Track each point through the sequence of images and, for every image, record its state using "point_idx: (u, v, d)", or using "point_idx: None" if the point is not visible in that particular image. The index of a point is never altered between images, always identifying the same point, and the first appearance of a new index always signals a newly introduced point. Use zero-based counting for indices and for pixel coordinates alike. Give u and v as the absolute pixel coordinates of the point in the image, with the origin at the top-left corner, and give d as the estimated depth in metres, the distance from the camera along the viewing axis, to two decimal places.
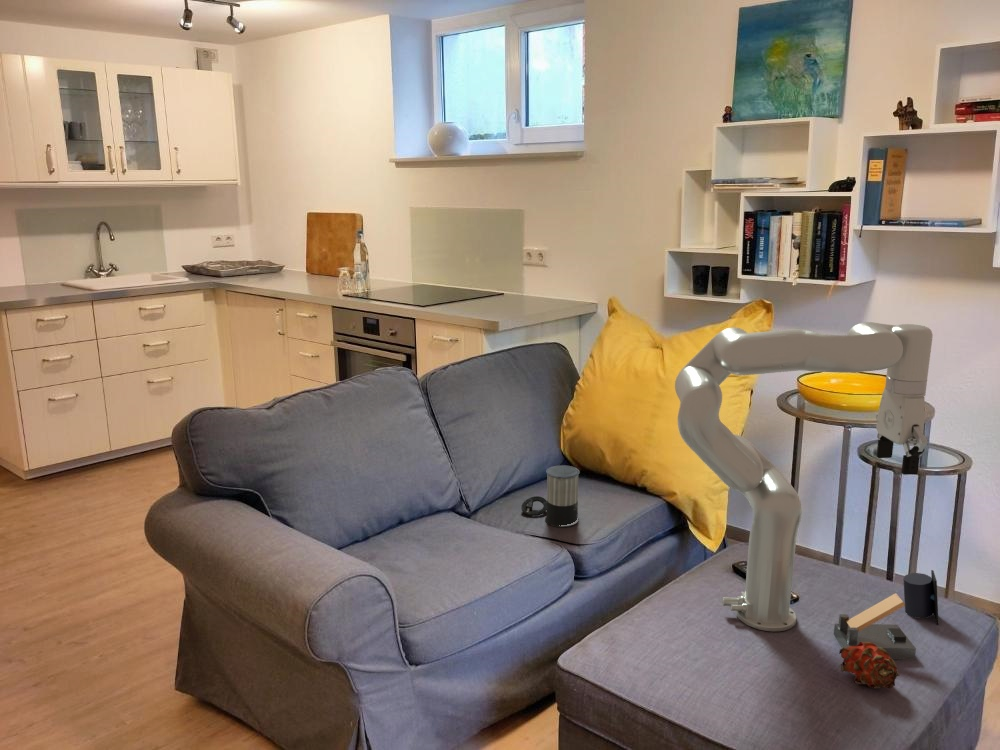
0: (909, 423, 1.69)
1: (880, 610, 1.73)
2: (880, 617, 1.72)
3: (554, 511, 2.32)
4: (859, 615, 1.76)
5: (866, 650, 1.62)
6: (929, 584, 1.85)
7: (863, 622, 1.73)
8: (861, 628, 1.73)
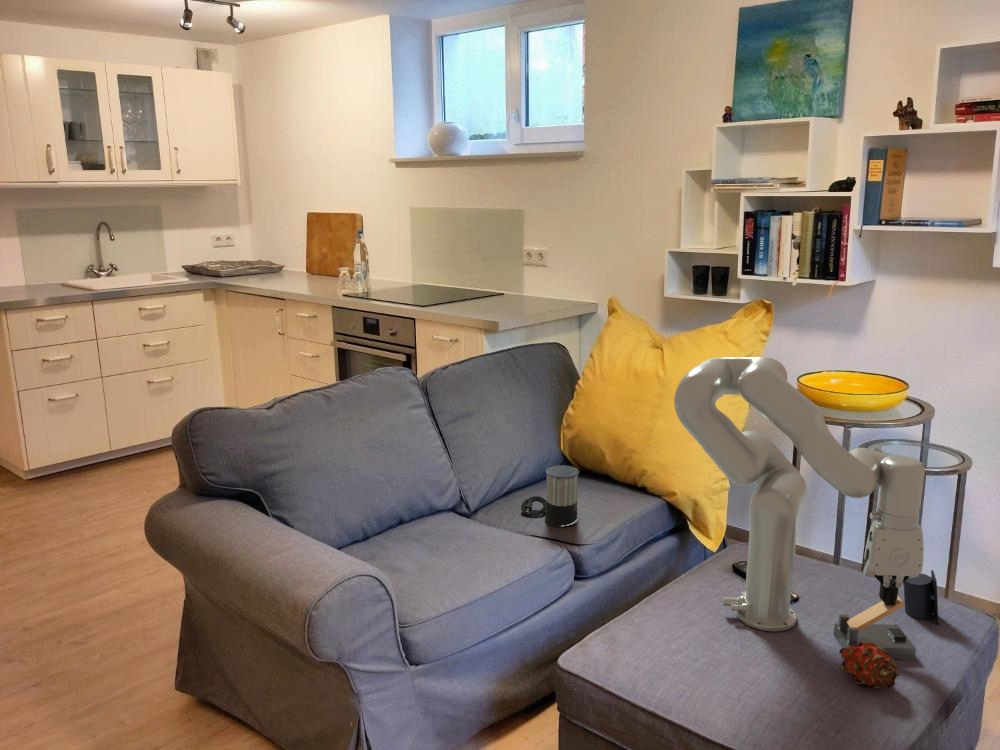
0: None
1: (880, 610, 1.73)
2: (880, 617, 1.72)
3: (553, 511, 2.32)
4: (859, 615, 1.76)
5: (866, 650, 1.62)
6: (929, 584, 1.85)
7: (863, 622, 1.73)
8: (861, 628, 1.73)
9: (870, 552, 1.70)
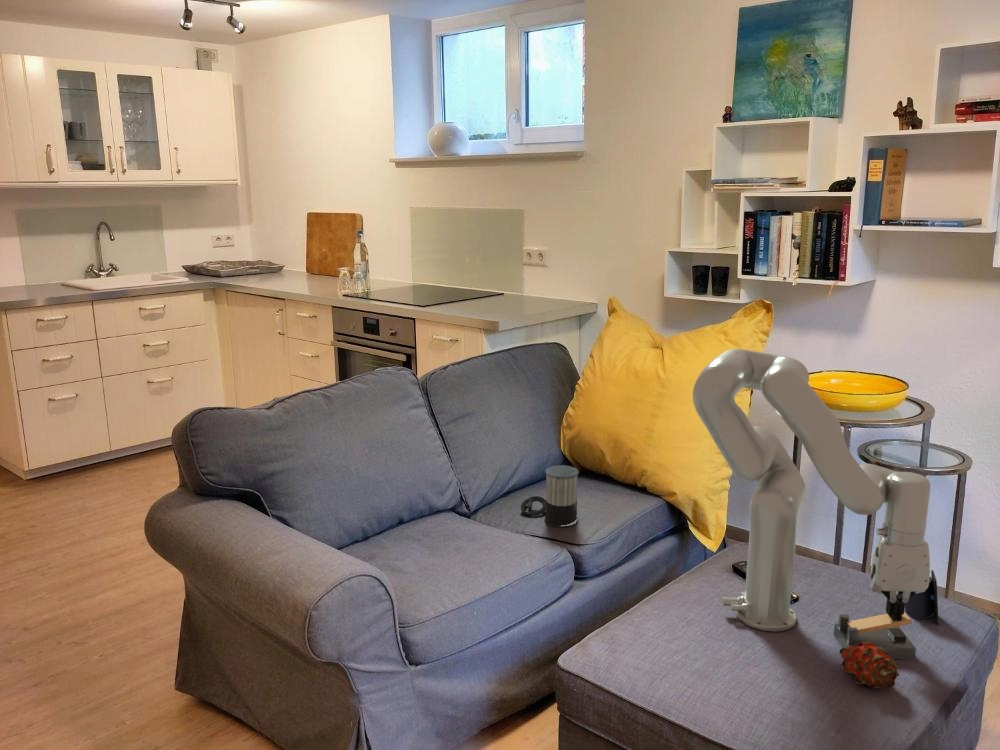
0: None
1: (885, 621, 1.74)
2: (884, 627, 1.73)
3: (553, 511, 2.32)
4: (862, 620, 1.76)
5: (866, 650, 1.62)
6: (929, 584, 1.85)
7: (866, 626, 1.74)
8: (862, 632, 1.73)
9: (877, 568, 1.70)
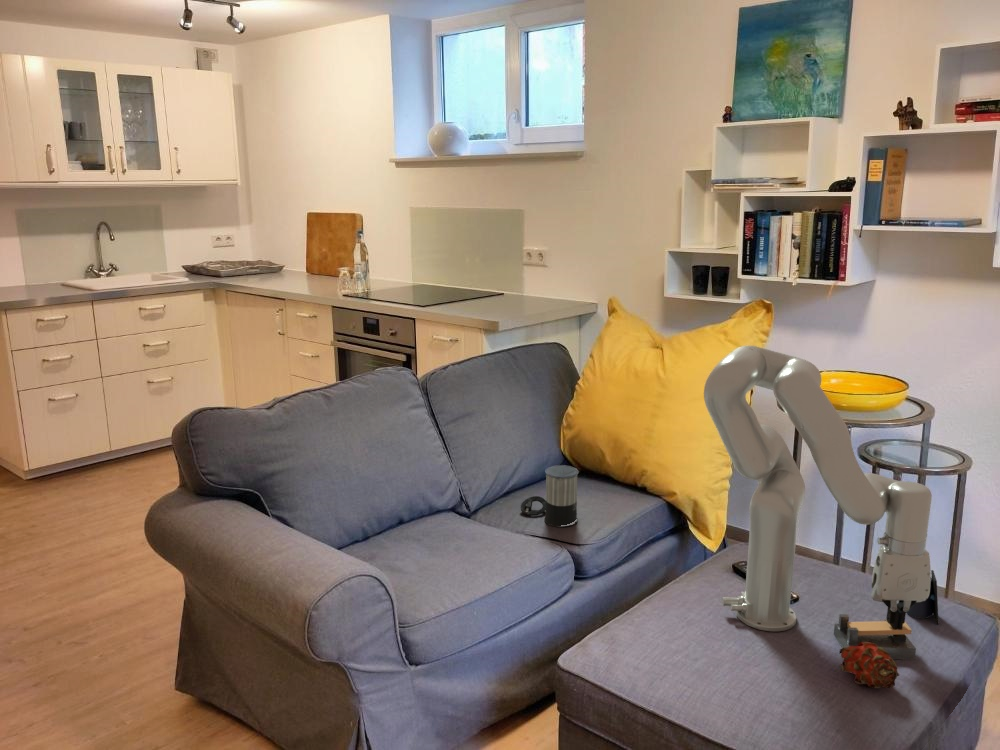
0: None
1: (886, 627, 1.74)
2: (884, 633, 1.73)
3: (552, 511, 2.32)
4: (862, 623, 1.76)
5: (866, 650, 1.62)
6: None
7: (866, 629, 1.74)
8: (862, 634, 1.74)
9: (878, 577, 1.71)
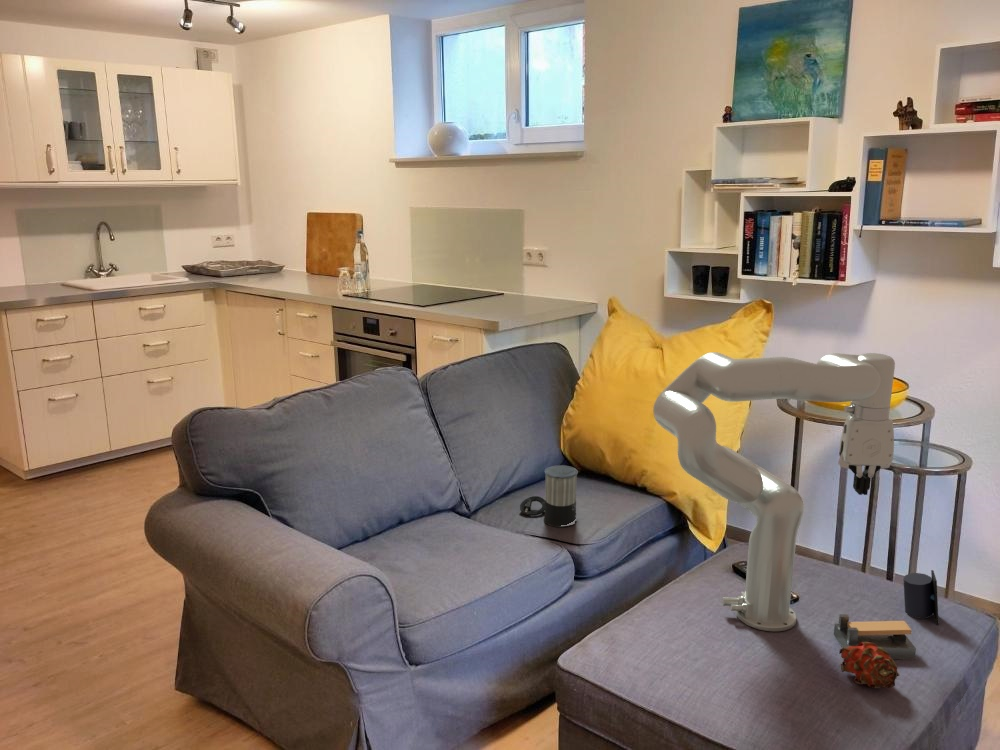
0: None
1: (886, 627, 1.74)
2: (884, 633, 1.73)
3: (552, 511, 2.32)
4: (862, 623, 1.76)
5: (866, 650, 1.62)
6: (929, 584, 1.85)
7: (866, 629, 1.74)
8: (862, 634, 1.74)
9: (844, 443, 1.82)
